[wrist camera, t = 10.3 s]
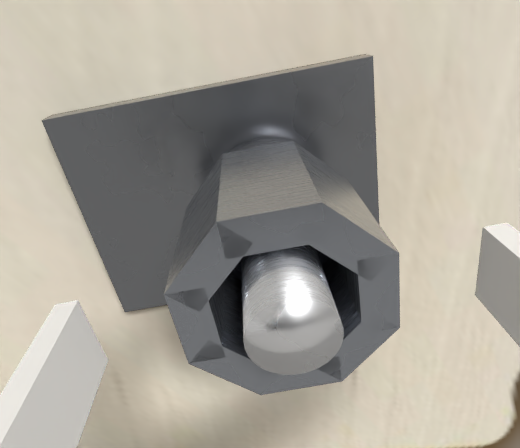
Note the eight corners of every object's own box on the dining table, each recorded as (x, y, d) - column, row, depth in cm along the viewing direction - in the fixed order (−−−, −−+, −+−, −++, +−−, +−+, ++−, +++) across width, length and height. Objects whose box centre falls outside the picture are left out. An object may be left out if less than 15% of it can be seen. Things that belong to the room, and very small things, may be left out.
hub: (173, 162, 17) (142, 235, 11) (342, 130, 17) (398, 188, 11) (212, 296, 20) (203, 404, 15) (353, 271, 20) (400, 371, 14)
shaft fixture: (52, 115, 20) (-160, 224, 9) (365, 54, 19) (523, 95, 9) (129, 299, 25) (53, 501, 15) (374, 256, 25) (478, 432, 14)
